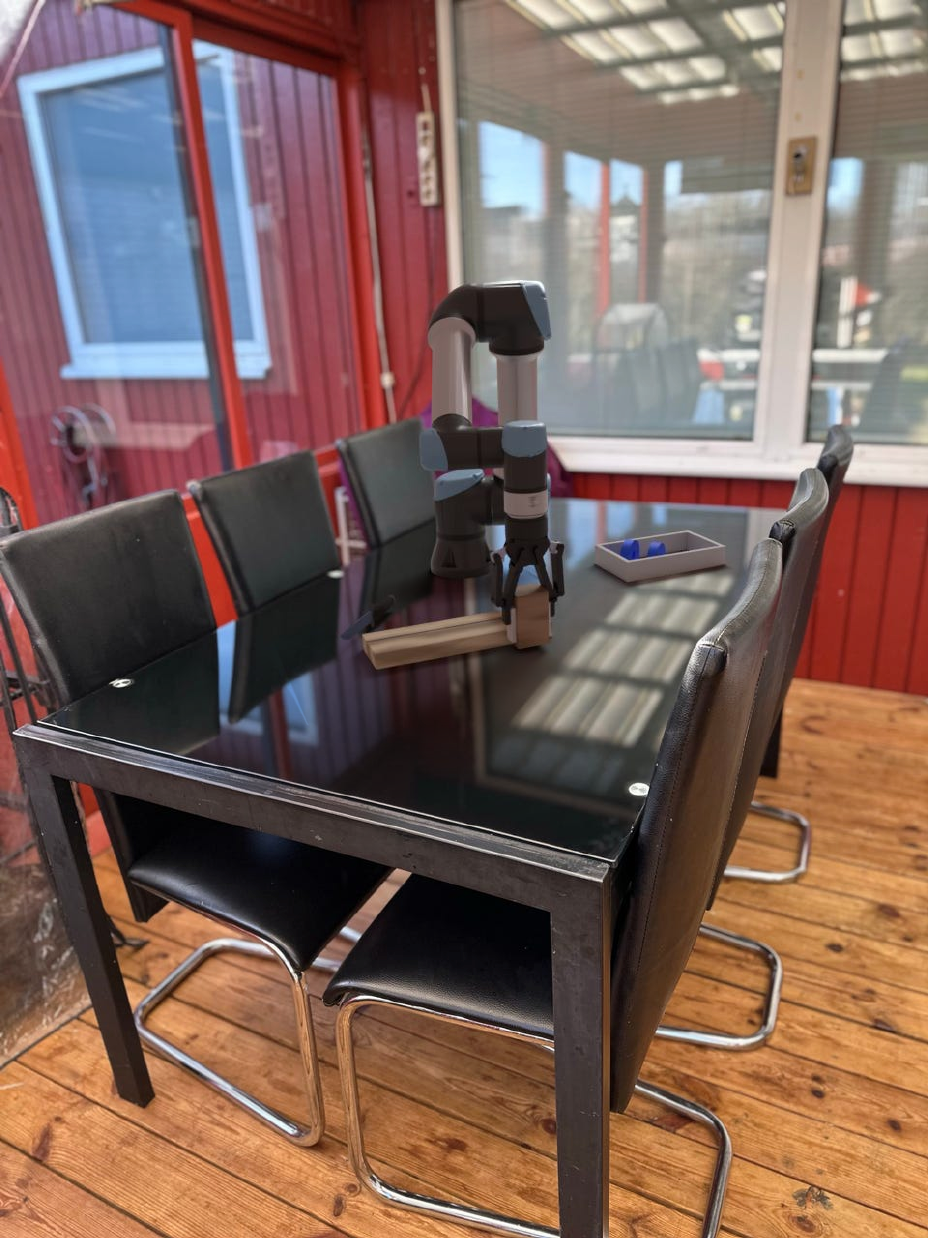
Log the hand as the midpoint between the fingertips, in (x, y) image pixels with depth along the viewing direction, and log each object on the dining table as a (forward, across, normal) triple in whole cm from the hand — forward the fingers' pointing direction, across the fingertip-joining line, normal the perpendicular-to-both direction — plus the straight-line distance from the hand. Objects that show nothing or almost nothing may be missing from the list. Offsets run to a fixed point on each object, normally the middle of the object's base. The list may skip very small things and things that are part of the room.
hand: (528, 636), depth 161 cm
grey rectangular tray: (+2, +46, +31) cm, 56 cm away
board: (+2, -11, +8) cm, 14 cm away
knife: (+2, -25, +21) cm, 33 cm away
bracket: (+5, +45, +34) cm, 57 cm away
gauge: (+1, 0, 0) cm, 1 cm away
